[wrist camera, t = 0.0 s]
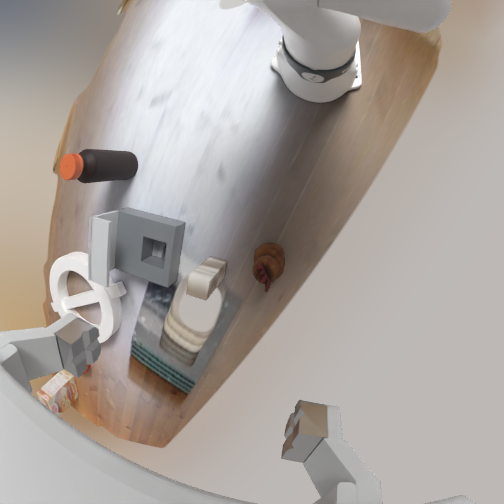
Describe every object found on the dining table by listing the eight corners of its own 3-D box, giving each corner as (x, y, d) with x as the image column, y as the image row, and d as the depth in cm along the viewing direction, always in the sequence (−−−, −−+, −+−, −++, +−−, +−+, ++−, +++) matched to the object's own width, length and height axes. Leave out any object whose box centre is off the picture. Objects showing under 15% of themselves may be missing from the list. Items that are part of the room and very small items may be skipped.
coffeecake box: (79, 396, 90) (55, 421, 72) (68, 388, 91) (44, 412, 73) (74, 375, 86) (47, 401, 67) (62, 367, 87) (35, 391, 68)
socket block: (127, 207, 61) (89, 216, 47) (185, 222, 59) (153, 235, 46) (123, 260, 65) (88, 279, 51) (177, 279, 63) (147, 304, 50)
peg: (210, 256, 60) (189, 274, 49) (227, 261, 59) (209, 281, 48) (207, 272, 61) (186, 294, 50) (223, 277, 61) (206, 300, 49)
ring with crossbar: (56, 304, 76) (48, 309, 72) (64, 234, 67) (53, 238, 63) (114, 351, 75) (106, 359, 71) (131, 283, 67) (121, 290, 62)
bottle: (115, 179, 59) (56, 185, 40) (117, 151, 57) (58, 149, 38) (137, 179, 58) (77, 185, 39) (139, 151, 56) (80, 147, 37)
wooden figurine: (286, 270, 58) (280, 300, 43) (259, 270, 59) (245, 300, 44) (285, 238, 56) (278, 260, 42) (257, 239, 57) (241, 261, 43)
